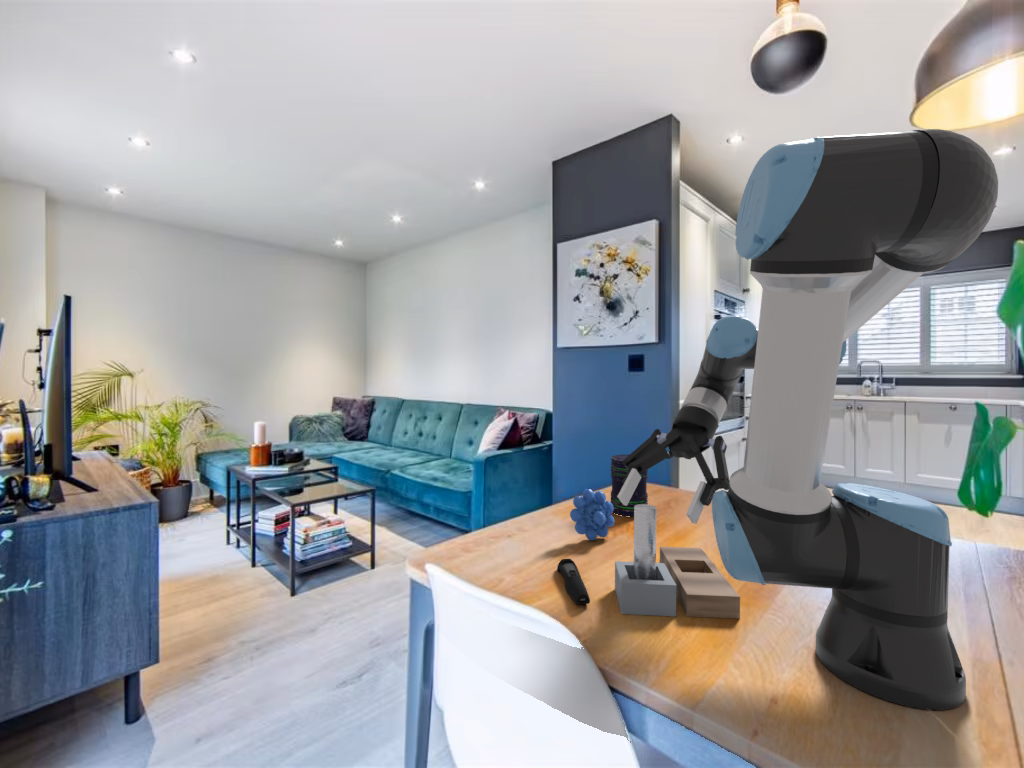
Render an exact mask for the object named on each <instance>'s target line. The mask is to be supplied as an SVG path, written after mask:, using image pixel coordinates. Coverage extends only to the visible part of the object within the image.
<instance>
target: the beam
mask: <svg viewBox="0 0 1024 768" xmlns="http://www.w3.org/2000/svg"><path fill="white" fill-rule="evenodd" d="M659 563H664V564H665V566H666V567H667V569H668V571H669V573H670V575H671V576H672V578H673V580H674V582H675V584H676V599H677V600H678V601H679V604H680V605H681V607H682V609H683V611H684V613H685V615H686V616H687V617H697V618H716V619H719V618H720V619H721V618H722V619H735V620H736V619H738V620H739V619H740V618H741V596H740V594H739V593H737V591H736V590H735V589H734V587H733V586H732V585H731V583H730V582H729V581H728V580H727V579H726V577H725V576H724V575H723V573H722V572H721V571H720V569H718V567H717V566H716V565H715V564H714V562H713V561H712V559H710V557H709V556H708V555H707V554H706V552H705V550H703V548H701V547H686V546H685V547H682V546H681V547H680V546H659Z"/></svg>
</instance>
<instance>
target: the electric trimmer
mask: <svg viewBox="0 0 1024 768" xmlns="http://www.w3.org/2000/svg"><path fill="white" fill-rule="evenodd" d="M556 571H557V572H558V573H562V576H563V579H564V588H565V590H566V592H567V594H568V595H569V596H570V598H571V599H572V601H573V602H574V603H575V604H576V605H588V604H590V603H591V599H590V595H589V593H588V590H587V587H586V585H585V583H584V581H583V578H582V576H581V574H580V571H579V568H578V567H577V565H576V563H575V561H574V560H573V559H571V558H563V559H561V560H560V561H559V563H558V564H557V568H556Z"/></svg>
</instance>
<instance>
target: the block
mask: <svg viewBox="0 0 1024 768" xmlns="http://www.w3.org/2000/svg"><path fill="white" fill-rule="evenodd" d="M633 571H634V561H619V560H614V591H615V595H616V598H617V602H618V606H619V611H620V614H621V615H637V616H638V615H639V616H657V617H660V616H661V617H677V596H676V584H675V582H674V580H673V578H672V576H671V575H670V573H669V571H668V569H667V567H666V566H665V564H664V563H660V562H656V580H633Z"/></svg>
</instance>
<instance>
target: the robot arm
mask: <svg viewBox="0 0 1024 768" xmlns="http://www.w3.org/2000/svg"><path fill="white" fill-rule="evenodd" d="M998 192H999V177H998V173H997V170H996V167H995V164H994V162H993V160H992V158H991V157H990V155H989V154H988V152H987V151H986V150H985V149H984V148H983V147H982V146H981V145H980V144H979V143H977V141H976V142H975V141H974V140H973V139H972V138H970V137H968V136H966V135H963V134H961V133H958V132H955V131H951V130H946V129H945V130H944V129H938V128H925V129H923V128H922V129H915V130H914V129H912V130H910V131H900V132H898V131H896V132H881V133H866V134H850V135H834V136H817V137H812V138H807V139H801V140H796V141H790V142H785V143H780V144H776V145H774V146H772V147H771V148H768V150H767V151H766V152H764V153H763V154H762V156H761V157H760V158H759V159H758V161H757V162H756V164H755V165H754V167H753V169H752V171H751V173H750V175H749V177H748V179H747V182H746V184H745V187H744V190H743V194H742V196H741V200H740V203H739V208H738V212H737V219H736V223H735V236H736V238H735V248H736V252H737V254H738V255H739V256H740V257H741V258H744V259H746V260H750V266H749V269H750V270H749V274H750V275H751V276H752V277H753V278H754V279H755V280H756V281H757V283H759V285H760V286H761V287H762V290H761V291H762V292H761V300H760V302H761V303H760V310H759V311H760V312H759V318H758V319H759V320H758V327H756V325H755V324H754V322H752V321H751V320H750V319H748V318H747V317H740V316H739V315H726V316H723V317H721V318H720V319H717V321H715V322H714V324H713V326H712V327H711V330H710V332H709V335H708V336H707V339H706V342H705V343H706V344H705V348H704V350H703V351H704V352H703V356H702V359H701V362H700V365H699V369H698V372H697V374H696V377H695V379H694V381H693V383H692V385H691V387H690V389H689V390H688V393H687V394H686V396H685V398H684V400H683V402H682V404H681V406H680V409H679V410H678V412H677V414H676V416H675V418H674V420H673V422H672V428H671V430H670V431H669V432H668V433H665V432H661V429H660V428H656V429H654V430H653V432H652V433H651V435H650V437H648V439H646V440H645V441H643V442H642V443H641V444H640V445H639V446H638V447H637V448H635V449H634V450H633V451H632V452H631V453H629V454H628V455H629V456H627V457H626V458H625V459H624V460H623V464H624V465H625V467H626V468H627V470H628V471H627V473H626V475H625V477H624V479H623V482H622V483H623V484H624V485H623V487H622V489H621V490H620V492H619V494H618V496H617V497H618V498H619V500H620V501H621V502H622V504H623V505H626V506H627V505H628V503H629V501H630V499H631V497H632V495H633V493H634V491H635V489H636V487H637V485H638V483H639V481H640V479H641V476H640V473H642V472H644V471H646V470H647V469H648V470H649V469H651V468H652V467H654V466H656V465H657V464H659V463H661V462H662V461H664V460H666V459H668V460H670V459H671V458H673V457H674V458H679V459H681V458H683V459H686V460H692V459H693V458H694V459H695V460H696V462H697V465H698V466H699V469H700V470H701V472H702V474H703V477H704V480H705V481H702V480H701V481H700V482H699V484H698V486H697V489H696V491H695V493H694V496H693V497H692V500H691V502H690V505H689V507H688V509H687V511H686V513H685V514H686V517H687V518H688V520H689V521H690V522H691V523H692V524H695V525H697V524H698V522H699V519H700V517H701V514H702V512H703V510H704V507H705V506H707V507H708V506H710V505H711V509H712V510H711V512H712V513H711V514H712V521H713V522H712V523H713V529H714V535H715V539H716V544H717V549H718V552H719V555H720V559H721V562H722V564H723V566H724V569H725V570H726V572H727V573H728V575H729V576H731V577H732V578H733V579H735V580H736V581H741V582H747V583H755V584H760V585H762V586H766V584H767V585H781V586H794V587H795V586H796V587H806V588H807V587H808V588H817V589H818V588H820V589H821V588H822V589H831V597H830V601H829V602H828V605H827V606H826V609H825V611H824V613H823V616H822V619H821V622H820V623H819V626H818V627H817V629H816V634H815V653H816V656H817V657H818V659H819V661H820V662H821V664H823V666H825V668H827V669H828V670H829V671H830V672H831V673H832V674H834V675H835V676H836V677H838V678H840V679H841V680H842V681H844V682H845V683H848V684H849V685H851V686H853V687H854V688H857V689H858V690H860V691H863V692H865V693H867V694H869V695H872V696H873V697H876V698H880V699H882V700H885V701H888V702H891V703H894V704H899V705H901V706H905V705H906V707H909V706H911V707H910V708H915V707H916V708H915V709H921V708H924V709H923V710H930V709H934V710H933V711H935V709H937V710H936V711H942V710H951V709H954V708H957V707H960V706H961V705H962V704H963V703H964V702H965V700H966V697H967V695H966V693H967V677H966V672H965V670H964V668H963V666H962V662H961V660H960V658H959V655H958V652H957V648H956V646H955V644H954V640H953V638H952V635H951V633H950V631H949V627H948V626H949V625H948V612H949V611H948V609H949V581H950V580H949V577H950V576H949V574H950V550H951V549H950V547H952V544H953V542H952V541H951V539H952V538H951V531H950V530H951V528H950V521H949V517H948V515H947V513H946V511H945V510H944V509H943V508H942V507H940V506H939V505H937V504H935V503H933V502H931V501H929V500H926V499H924V498H921V497H917V496H914V495H911V494H907V493H904V492H900V491H894V490H891V489H888V488H887V489H886V488H882V487H879V486H878V487H877V486H872V485H867V484H866V485H865V484H859V483H854V482H853V483H852V482H842V483H841V482H840V483H837V484H835V485H834V487H833V489H832V490H829V488H828V487H826V485H824V484H823V483H822V481H821V477H822V471H823V465H824V458H825V454H826V453H825V452H826V446H827V440H828V434H829V430H830V429H829V428H830V422H831V416H832V412H833V411H832V410H833V404H834V398H835V392H836V387H837V380H838V373H839V367H840V364H842V362H843V358H844V357H845V356H846V353H847V340H848V339H849V338H850V337H851V336H853V335H854V334H855V333H856V332H857V331H858V330H859V329H861V327H863V326H864V325H865V324H866V323H868V322H869V320H871V319H872V318H873V317H875V315H877V314H878V313H879V312H880V311H882V310H883V309H884V308H885V307H886V306H887V305H888V304H890V303H891V302H892V301H893V300H894V299H895V298H897V297H898V296H899V295H900V294H902V292H903V291H904V290H906V289H907V288H908V287H910V286H911V285H912V284H913V283H914V282H915V281H916V280H917V279H919V278H920V277H921V276H922V275H923V274H927V273H932V272H936V271H939V270H941V269H944V267H946V266H948V265H950V264H951V263H952V262H953V261H955V259H957V258H958V257H959V256H960V255H962V254H963V253H964V252H965V251H966V250H967V249H969V247H970V246H971V245H972V244H974V243H975V241H976V240H977V239H978V238H979V236H980V235H981V233H982V232H983V231H984V229H986V227H987V225H988V224H989V222H990V220H991V217H992V215H993V213H994V210H995V208H996V205H997V200H998V196H999V193H998ZM744 370H753V374H752V377H753V378H752V385H751V392H750V393H751V396H750V405H749V413H748V422H747V431H746V441H745V450H744V451H745V452H744V459H743V466H742V467H741V468H739V469H736V471H734V472H733V473H732V474H731V475H729V470H728V465H727V458H726V451H727V448H728V446H727V443H726V441H725V440H724V438H723V436H722V435H718V436H716V437H715V438H714V436H715V435H716V431H717V430H718V427H719V424H720V423H721V421H722V418H723V415H724V414H725V411H726V410H727V407H728V404H729V402H730V400H731V398H732V396H733V394H734V392H735V391H736V389H737V388H736V387H737V386H738V383H740V381H741V378H742V375H743V371H744ZM667 448H668V450H669V451H668V450H667ZM709 448H711V449H712V451H713V455H714V462H715V468H716V474H717V477H714V475H713V473H712V471H711V469H710V467H709V465H708V463H707V460H706V458H705V457H704V455H703V453H704V452H705V451H707V450H708V449H709ZM637 467H638V468H637ZM718 490H719V491H718ZM830 491H831V492H832V493H831V492H830Z"/></svg>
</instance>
